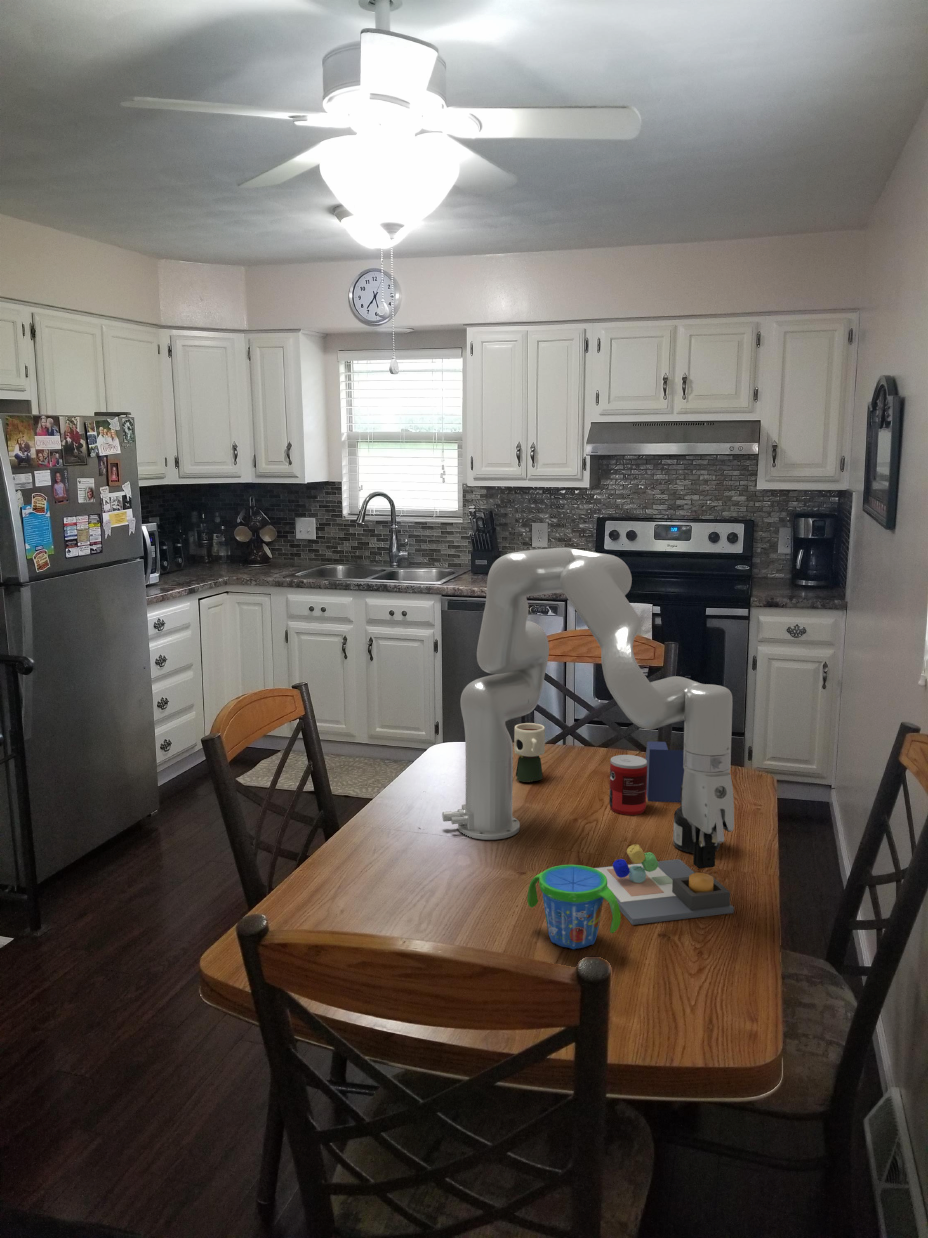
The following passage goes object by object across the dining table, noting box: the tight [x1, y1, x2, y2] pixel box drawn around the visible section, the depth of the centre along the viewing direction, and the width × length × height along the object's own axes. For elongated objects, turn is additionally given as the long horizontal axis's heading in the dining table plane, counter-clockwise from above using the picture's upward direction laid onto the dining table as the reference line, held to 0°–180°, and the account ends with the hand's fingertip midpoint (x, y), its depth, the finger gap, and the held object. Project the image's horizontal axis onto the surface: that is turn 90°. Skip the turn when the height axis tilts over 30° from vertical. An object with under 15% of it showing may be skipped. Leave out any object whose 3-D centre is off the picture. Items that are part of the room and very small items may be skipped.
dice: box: [612, 843, 659, 883], centre depth 166 cm, size 8×3×6 cm, turn 98°
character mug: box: [513, 722, 546, 783], centre depth 222 cm, size 11×7×13 cm, turn 10°
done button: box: [689, 872, 715, 893], centre depth 160 cm, size 4×4×2 cm
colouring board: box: [593, 858, 735, 926], centre depth 165 cm, size 18×20×4 cm
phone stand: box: [644, 741, 684, 804], centre depth 214 cm, size 12×12×12 cm
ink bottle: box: [672, 784, 721, 854], centre depth 184 cm, size 10×9×12 cm
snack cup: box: [526, 864, 622, 950], centre depth 148 cm, size 16×10×10 cm
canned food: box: [608, 754, 647, 816], centre depth 204 cm, size 8×8×11 cm
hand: (704, 866), depth 159 cm, fingers closed
